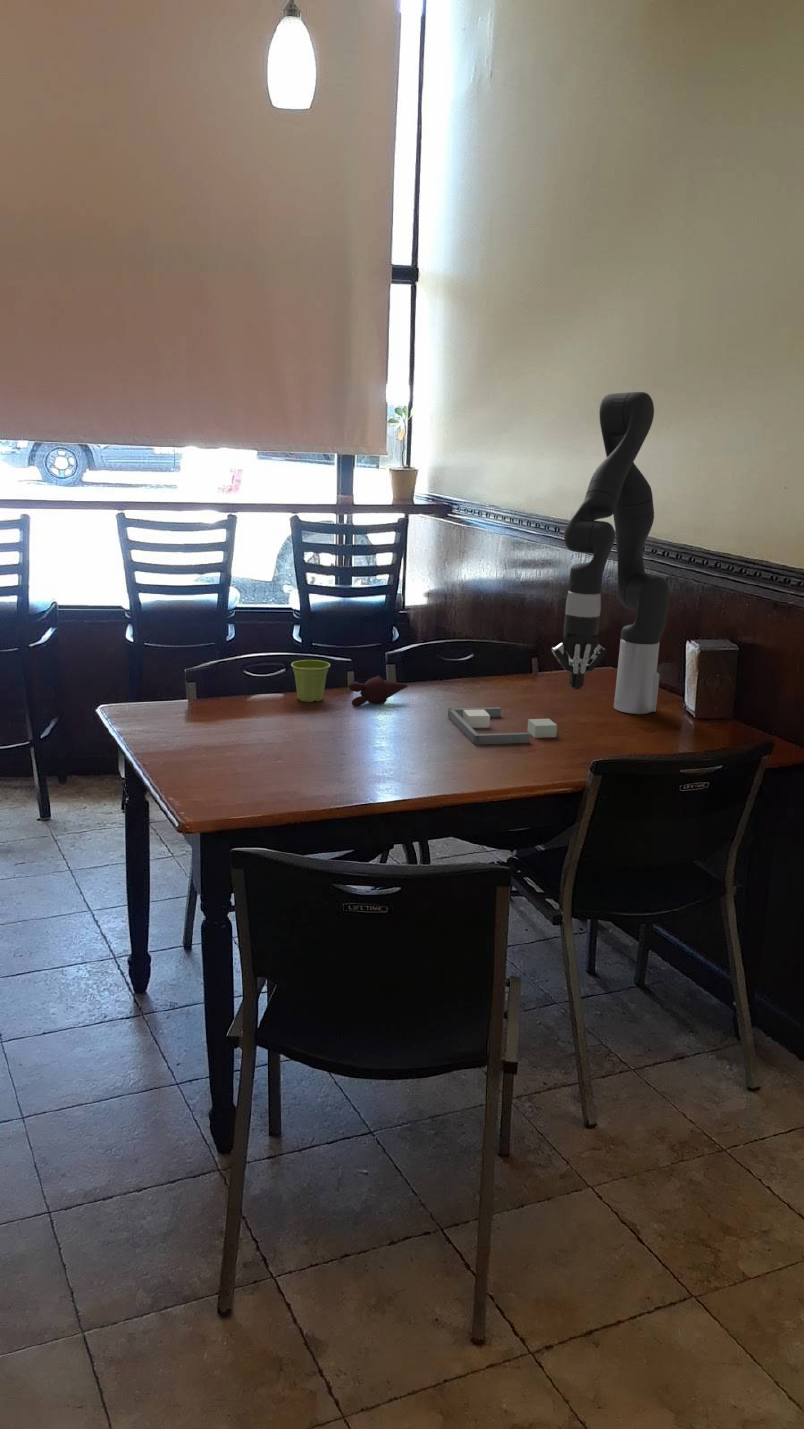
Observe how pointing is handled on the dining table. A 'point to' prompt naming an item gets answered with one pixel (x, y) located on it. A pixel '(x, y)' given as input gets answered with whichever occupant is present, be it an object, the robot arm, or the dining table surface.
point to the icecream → (375, 690)
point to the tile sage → (542, 728)
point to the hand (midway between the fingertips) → (575, 688)
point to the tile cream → (477, 718)
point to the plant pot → (310, 679)
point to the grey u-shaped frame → (476, 738)
